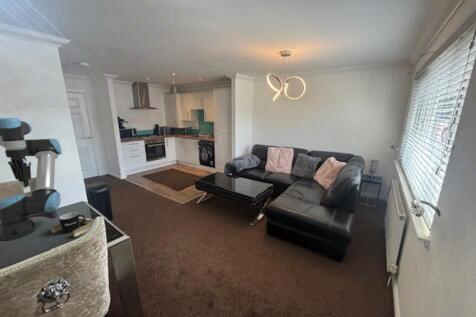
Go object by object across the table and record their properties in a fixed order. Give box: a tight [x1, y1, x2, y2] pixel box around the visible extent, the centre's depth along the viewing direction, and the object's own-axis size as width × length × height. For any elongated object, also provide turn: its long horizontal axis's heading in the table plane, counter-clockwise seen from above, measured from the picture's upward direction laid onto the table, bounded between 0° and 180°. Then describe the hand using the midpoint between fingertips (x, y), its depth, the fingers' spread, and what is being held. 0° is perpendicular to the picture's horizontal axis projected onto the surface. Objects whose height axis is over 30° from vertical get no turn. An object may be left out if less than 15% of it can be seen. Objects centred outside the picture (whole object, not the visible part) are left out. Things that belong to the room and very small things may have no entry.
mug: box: [58, 211, 86, 234], centre depth 123 cm, size 12×9×10 cm
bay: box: [50, 216, 96, 238], centre depth 123 cm, size 19×14×4 cm
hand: (26, 192), depth 105 cm, fingers closed
